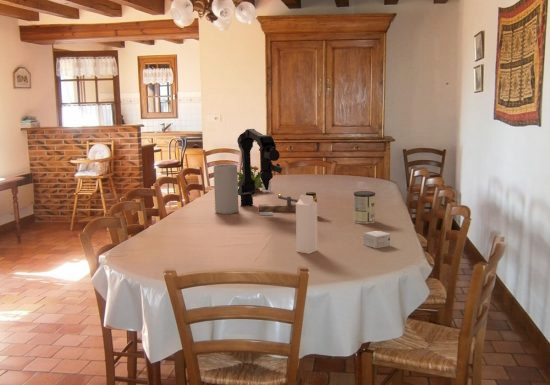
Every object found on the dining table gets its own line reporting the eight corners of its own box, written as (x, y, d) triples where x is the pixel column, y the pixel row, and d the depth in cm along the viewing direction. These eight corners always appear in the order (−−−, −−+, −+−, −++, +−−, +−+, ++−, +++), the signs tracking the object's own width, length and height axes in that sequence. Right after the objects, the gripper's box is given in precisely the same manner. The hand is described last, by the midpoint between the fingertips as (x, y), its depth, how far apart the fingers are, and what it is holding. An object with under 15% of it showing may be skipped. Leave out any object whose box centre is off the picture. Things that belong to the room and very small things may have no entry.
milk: (304, 248, 212) (304, 193, 209) (317, 250, 209) (317, 194, 205) (296, 251, 207) (295, 195, 204) (309, 254, 204) (308, 197, 200)
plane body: (258, 212, 286) (258, 199, 284) (258, 209, 291) (258, 197, 290) (296, 211, 286) (295, 198, 285) (295, 209, 292) (295, 196, 291)
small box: (375, 249, 210) (376, 236, 209) (362, 244, 216) (362, 232, 215) (390, 246, 214) (390, 233, 213) (377, 242, 220) (377, 230, 219)
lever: (278, 198, 286) (278, 194, 286) (277, 197, 289) (278, 193, 288) (299, 202, 287) (300, 198, 287) (299, 201, 290) (300, 197, 289)
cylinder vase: (242, 210, 290) (241, 164, 286) (231, 215, 279) (229, 167, 275) (222, 209, 295) (221, 164, 291) (210, 213, 284) (209, 166, 280)
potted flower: (278, 190, 358) (277, 164, 355) (258, 195, 338) (257, 167, 335) (247, 187, 371) (247, 162, 368) (226, 192, 351) (226, 166, 348)
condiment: (320, 216, 273) (320, 192, 271) (307, 218, 268) (306, 194, 266) (311, 213, 279) (311, 191, 277) (298, 215, 274) (298, 192, 272)
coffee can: (355, 218, 265) (355, 190, 262) (376, 219, 261) (376, 191, 259) (351, 223, 255) (351, 194, 253) (373, 224, 252) (373, 194, 249)
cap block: (262, 192, 277) (262, 182, 277) (262, 191, 282) (262, 181, 281) (271, 191, 278) (271, 182, 277) (271, 190, 282) (270, 181, 281)
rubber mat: (259, 215, 276) (259, 214, 276) (259, 212, 283) (259, 212, 283) (273, 215, 276) (273, 214, 276) (272, 212, 283) (272, 211, 283)
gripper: (282, 160, 268) (283, 191, 271) (280, 157, 287) (281, 186, 289) (260, 161, 268) (261, 192, 270) (259, 158, 286) (260, 187, 289)
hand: (266, 189), depth 279 cm, fingers closed on cap block, 4 cm apart
